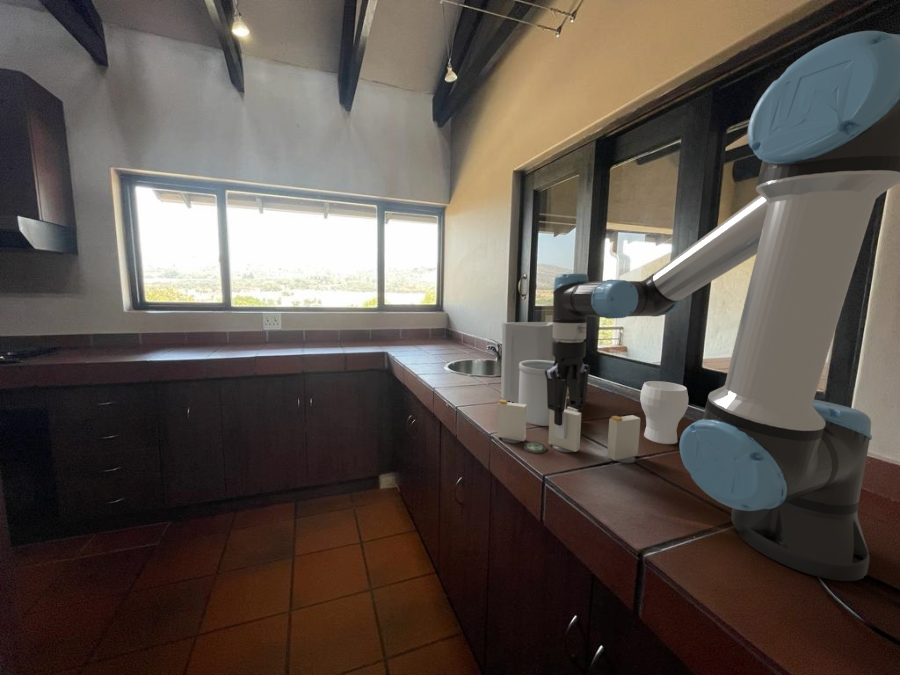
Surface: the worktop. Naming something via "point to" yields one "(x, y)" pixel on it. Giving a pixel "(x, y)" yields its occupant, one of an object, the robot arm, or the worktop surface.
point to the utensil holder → (535, 390)
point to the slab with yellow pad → (623, 438)
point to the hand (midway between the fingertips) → (566, 435)
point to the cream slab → (511, 421)
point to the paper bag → (522, 352)
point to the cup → (663, 410)
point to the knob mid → (571, 432)
